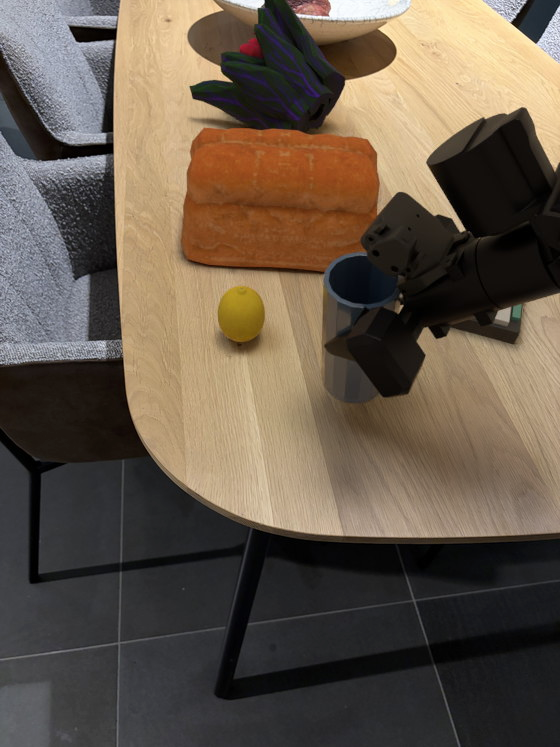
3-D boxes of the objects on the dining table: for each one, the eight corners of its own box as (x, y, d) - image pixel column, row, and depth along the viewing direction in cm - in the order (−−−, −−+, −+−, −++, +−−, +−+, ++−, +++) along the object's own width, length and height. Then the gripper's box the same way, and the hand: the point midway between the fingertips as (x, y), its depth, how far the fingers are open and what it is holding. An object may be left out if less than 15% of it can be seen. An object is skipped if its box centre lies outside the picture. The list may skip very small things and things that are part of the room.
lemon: (269, 350, 72) (272, 301, 66) (224, 359, 71) (223, 309, 65) (256, 319, 76) (258, 269, 70) (213, 326, 74) (211, 276, 68)
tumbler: (397, 367, 63) (416, 268, 52) (368, 414, 59) (381, 318, 48) (340, 343, 65) (347, 242, 54) (309, 386, 62) (309, 289, 51)
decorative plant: (270, 199, 109) (165, 97, 115) (373, 110, 112) (266, 16, 118) (259, 127, 89) (133, 9, 95) (385, 22, 92) (255, -86, 98)
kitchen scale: (520, 294, 82) (527, 278, 80) (514, 344, 75) (522, 328, 73) (447, 275, 83) (452, 259, 81) (435, 322, 77) (441, 306, 75)
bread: (375, 279, 82) (398, 180, 71) (178, 266, 81) (169, 165, 70) (368, 218, 91) (387, 122, 80) (191, 207, 90) (185, 108, 79)
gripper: (477, 128, 48) (336, 205, 60) (397, 252, 37) (241, 318, 48) (539, 240, 52) (394, 293, 63) (482, 383, 41) (319, 416, 52)
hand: (343, 324), depth 57 cm, fingers closed on tumbler, 7 cm apart
